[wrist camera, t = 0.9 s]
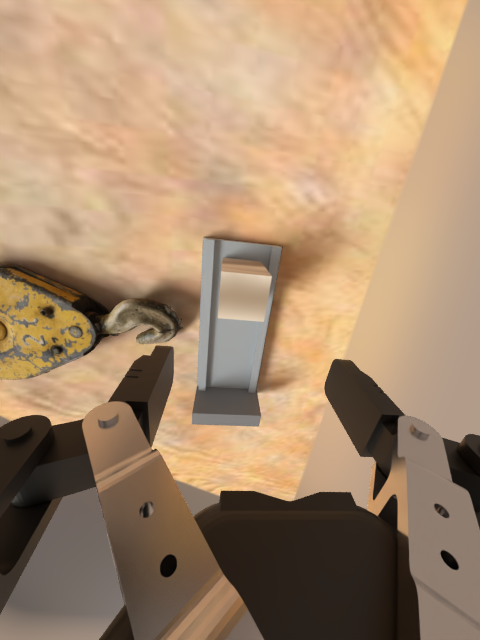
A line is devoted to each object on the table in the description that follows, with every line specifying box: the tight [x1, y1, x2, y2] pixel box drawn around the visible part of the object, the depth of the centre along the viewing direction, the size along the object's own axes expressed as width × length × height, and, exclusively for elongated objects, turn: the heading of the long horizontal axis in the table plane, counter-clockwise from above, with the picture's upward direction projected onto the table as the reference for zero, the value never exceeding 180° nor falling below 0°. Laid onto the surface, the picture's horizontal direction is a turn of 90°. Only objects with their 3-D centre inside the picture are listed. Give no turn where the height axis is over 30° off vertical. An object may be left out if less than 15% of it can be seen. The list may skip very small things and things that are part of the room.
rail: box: [192, 237, 283, 426], centre depth 28 cm, size 23×9×6 cm, turn 174°
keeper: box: [218, 257, 272, 322], centre depth 23 cm, size 4×4×7 cm
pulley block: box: [0, 265, 182, 380], centre depth 27 cm, size 14×6×30 cm
